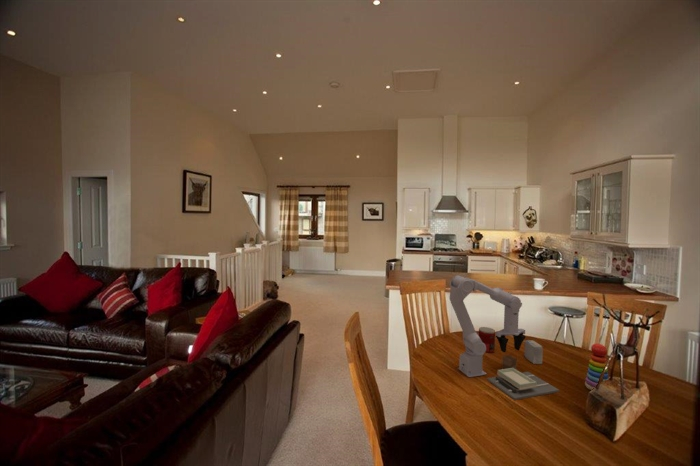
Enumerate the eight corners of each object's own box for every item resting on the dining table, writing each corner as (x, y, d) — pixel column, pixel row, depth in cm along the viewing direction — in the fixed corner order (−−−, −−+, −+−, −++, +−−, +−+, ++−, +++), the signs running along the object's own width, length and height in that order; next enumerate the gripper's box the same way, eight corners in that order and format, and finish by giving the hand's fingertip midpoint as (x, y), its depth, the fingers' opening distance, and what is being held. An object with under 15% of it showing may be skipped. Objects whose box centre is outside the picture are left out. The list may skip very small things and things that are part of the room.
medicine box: (542, 364, 145) (543, 346, 144) (533, 364, 145) (533, 346, 145) (533, 357, 153) (533, 340, 152) (524, 356, 153) (524, 340, 152)
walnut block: (509, 373, 136) (509, 360, 136) (502, 368, 140) (502, 356, 140) (516, 371, 138) (516, 359, 137) (509, 367, 141) (509, 355, 141)
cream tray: (520, 392, 118) (520, 384, 118) (497, 376, 130) (497, 370, 130) (536, 389, 120) (536, 382, 120) (512, 374, 132) (512, 367, 132)
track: (514, 400, 116) (514, 394, 116) (487, 379, 130) (487, 374, 130) (559, 391, 122) (559, 386, 122) (528, 373, 136) (528, 368, 136)
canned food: (492, 354, 155) (493, 333, 154) (476, 350, 160) (477, 329, 159) (496, 349, 161) (496, 329, 161) (480, 345, 166) (480, 325, 165)
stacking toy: (614, 396, 119) (617, 349, 118) (591, 393, 121) (593, 347, 120) (602, 385, 127) (604, 341, 126) (580, 382, 129) (582, 339, 128)
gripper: (504, 325, 132) (503, 356, 133) (531, 322, 136) (530, 352, 137) (492, 320, 139) (492, 349, 139) (518, 317, 143) (517, 346, 143)
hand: (510, 350), depth 138 cm, fingers open, 7 cm apart
